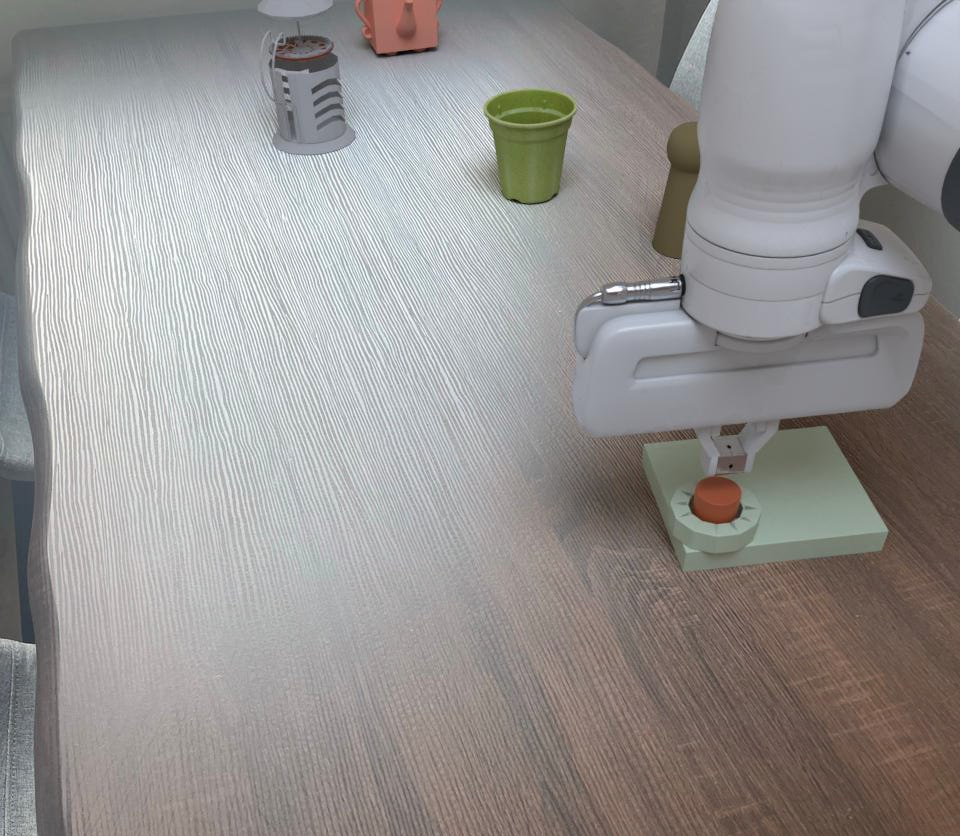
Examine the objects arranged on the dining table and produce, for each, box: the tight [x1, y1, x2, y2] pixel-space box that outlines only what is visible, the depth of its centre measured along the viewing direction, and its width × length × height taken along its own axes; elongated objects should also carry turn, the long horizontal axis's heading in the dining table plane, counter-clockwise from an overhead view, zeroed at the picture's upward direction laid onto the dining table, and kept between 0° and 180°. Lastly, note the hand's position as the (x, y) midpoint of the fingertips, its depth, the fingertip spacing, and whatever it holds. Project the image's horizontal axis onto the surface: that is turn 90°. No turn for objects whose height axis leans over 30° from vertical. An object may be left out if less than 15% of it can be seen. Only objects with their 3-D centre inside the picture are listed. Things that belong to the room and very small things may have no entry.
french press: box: [257, 0, 356, 156], centre depth 110 cm, size 10×12×25 cm
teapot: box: [354, 0, 443, 56], centre depth 136 cm, size 12×15×8 cm
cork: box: [651, 121, 700, 260], centre depth 96 cm, size 6×6×11 cm
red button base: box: [641, 425, 890, 573], centre depth 72 cm, size 14×12×4 cm
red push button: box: [692, 476, 742, 524], centre depth 68 cm, size 3×3×2 cm
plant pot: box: [482, 88, 578, 204], centre depth 106 cm, size 9×9×9 cm
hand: (725, 469), depth 66 cm, fingers closed
